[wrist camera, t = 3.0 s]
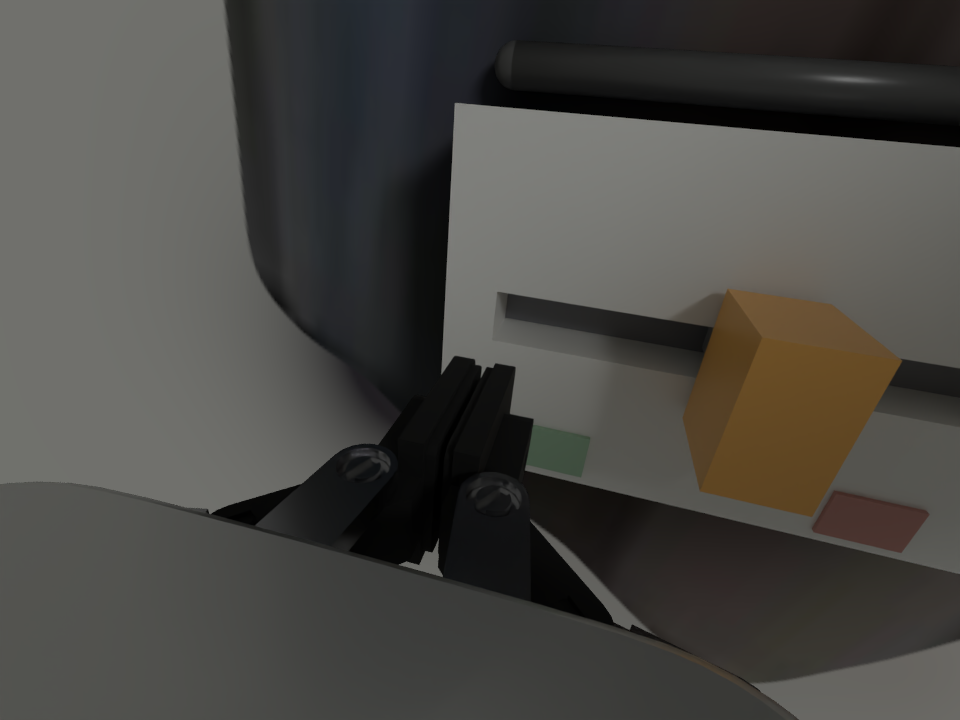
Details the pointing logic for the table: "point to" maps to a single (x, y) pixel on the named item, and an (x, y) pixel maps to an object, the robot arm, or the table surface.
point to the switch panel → (711, 269)
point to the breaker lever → (781, 399)
